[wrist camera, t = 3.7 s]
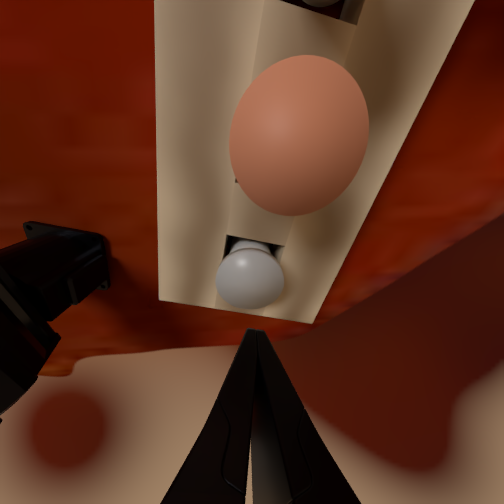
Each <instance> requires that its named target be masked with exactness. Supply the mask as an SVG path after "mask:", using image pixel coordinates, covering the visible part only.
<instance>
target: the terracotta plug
mask: <svg viewBox="0 0 504 504" xmlns="http://www.w3.org/2000/svg"><path fill="white" fill-rule="evenodd" d="M368 137H369V117H368V110H367V106H366V101H365V99H364V96H363V93H362V91H361V89H360V87H359V86H358V84H357V82H356V81H355V80H354V78H353V77H352V76H351V74H350V73H348V72H347V71H346V70H345V69H344V68H343V67H342V66H340V65H339V64H337V63H336V62H334V61H332V60H329V59H327V58H324V57H320V56H315V55H299V56H293V57H289V58H287V59H284V60H281V61H279V62H277V63H275V64H273V65H271V66H270V67H269V68H267V69H266V70H264V71H263V72H262V73H261V74H260V75H259V76H258V77H257V78H256V79H255V80H254V81H253V82H252V83H251V84H250V86H249V87H248V88H247V89H246V91H245V93H244V94H243V96H242V98H241V99H240V101H239V103H238V106H237V108H236V110H235V113H234V116H233V119H232V124H231V129H230V137H229V153H230V160H231V165H232V169H233V172H234V175H235V177H236V179H237V181H238V183H239V185H240V187H241V188H242V190H243V191H244V193H245V194H246V195H247V196H248V197H249V198H250V199H251V200H252V201H253V202H254V203H255V204H257V205H258V206H259V207H261V208H263V209H264V210H266V211H269V212H271V213H274V214H278V215H283V216H299V215H305V214H309V213H312V212H315V211H317V210H319V209H321V208H323V207H325V206H327V205H328V204H330V203H331V202H333V201H334V200H335V199H336V198H337V197H339V196H340V195H341V194H342V193H343V192H344V191H345V190H346V188H347V187H348V186H349V184H350V183H351V182H352V180H353V179H354V177H355V176H356V174H357V172H358V170H359V168H360V166H361V164H362V161H363V158H364V156H365V152H366V148H367V144H368Z"/></svg>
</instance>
